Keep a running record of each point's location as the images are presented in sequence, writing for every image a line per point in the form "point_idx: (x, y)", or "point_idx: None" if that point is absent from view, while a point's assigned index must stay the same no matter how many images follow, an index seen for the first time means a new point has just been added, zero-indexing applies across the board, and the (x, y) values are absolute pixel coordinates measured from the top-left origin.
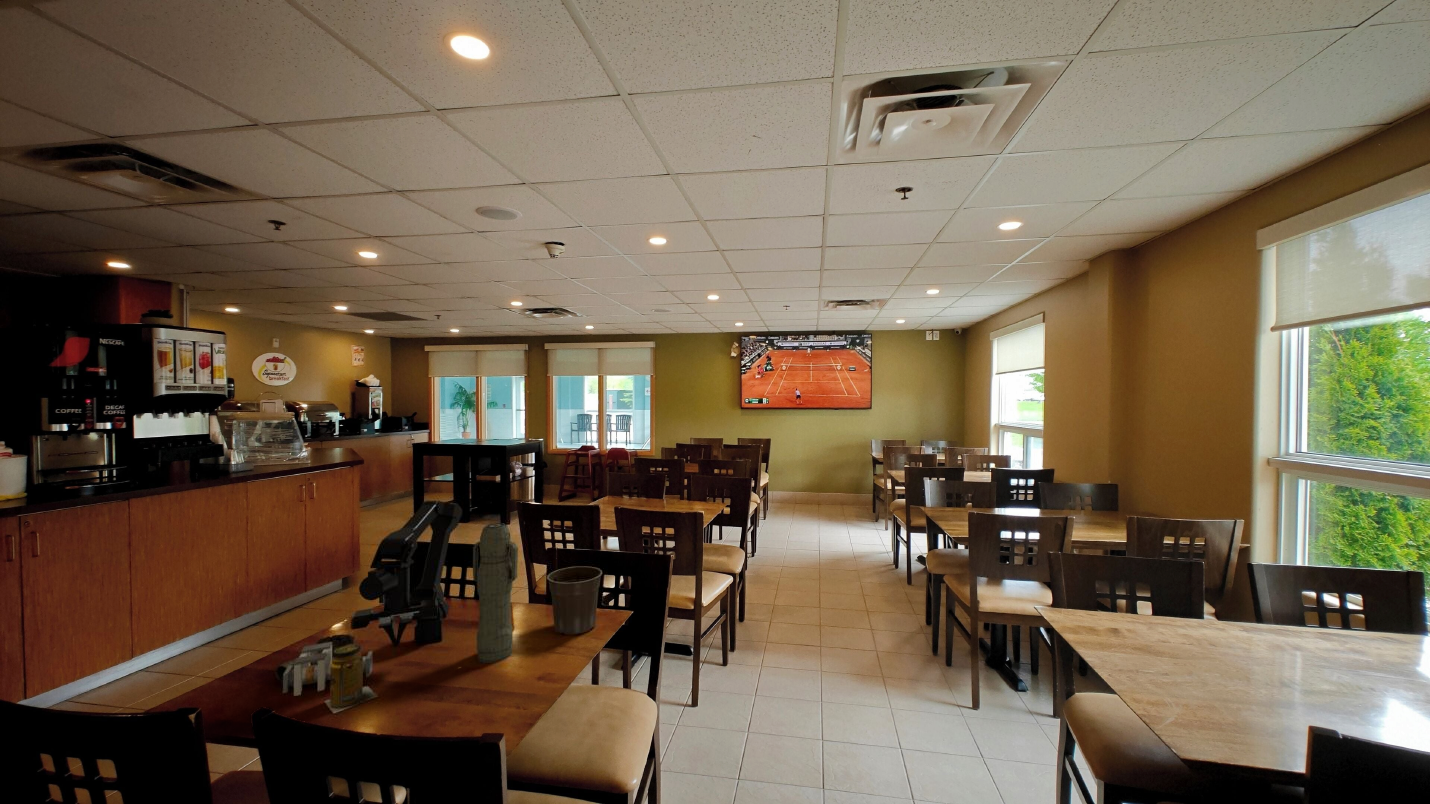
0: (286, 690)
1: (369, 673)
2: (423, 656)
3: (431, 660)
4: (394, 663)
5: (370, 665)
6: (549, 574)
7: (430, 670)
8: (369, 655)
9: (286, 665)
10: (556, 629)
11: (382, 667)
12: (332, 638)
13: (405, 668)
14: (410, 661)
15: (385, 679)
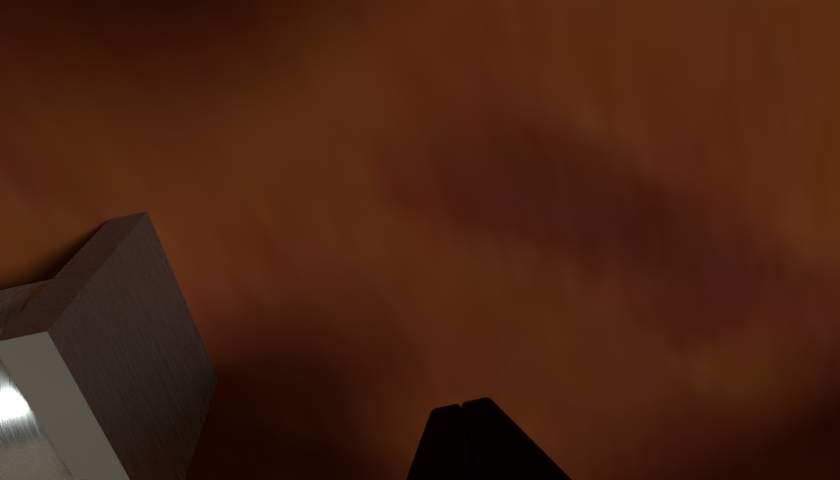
0: None
1: (209, 397)
2: (692, 41)
3: (780, 182)
4: (375, 153)
5: (175, 399)
6: None
7: (763, 385)
8: (100, 465)
9: None
10: None
11: (268, 224)
12: None
13: (532, 302)
14: (554, 147)
15: (402, 459)
